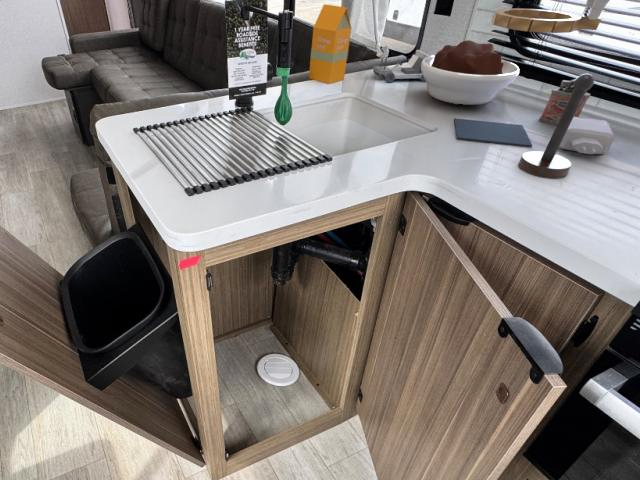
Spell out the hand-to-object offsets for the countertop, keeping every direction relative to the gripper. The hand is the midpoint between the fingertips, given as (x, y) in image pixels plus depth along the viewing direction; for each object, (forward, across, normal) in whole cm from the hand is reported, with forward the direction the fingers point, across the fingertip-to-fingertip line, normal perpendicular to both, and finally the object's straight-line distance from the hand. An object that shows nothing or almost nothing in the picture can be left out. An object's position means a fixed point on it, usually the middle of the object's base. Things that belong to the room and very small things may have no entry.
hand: (589, 17), depth 87 cm
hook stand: (+24, -18, +2) cm, 30 cm away
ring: (+2, 0, +8) cm, 8 cm away
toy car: (+25, +46, +33) cm, 62 cm away
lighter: (+24, +14, -8) cm, 29 cm away
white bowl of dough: (+25, +26, +15) cm, 39 cm away
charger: (+24, -4, -9) cm, 26 cm away
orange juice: (+25, +37, +55) cm, 71 cm away
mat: (+24, +1, +10) cm, 26 cm away
